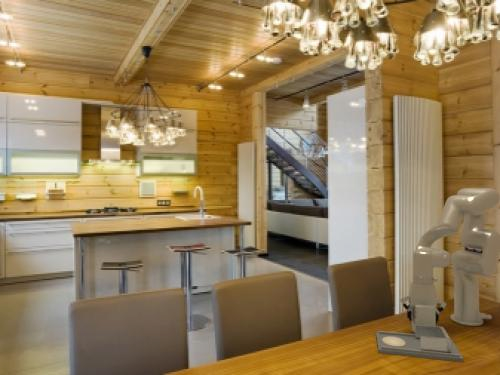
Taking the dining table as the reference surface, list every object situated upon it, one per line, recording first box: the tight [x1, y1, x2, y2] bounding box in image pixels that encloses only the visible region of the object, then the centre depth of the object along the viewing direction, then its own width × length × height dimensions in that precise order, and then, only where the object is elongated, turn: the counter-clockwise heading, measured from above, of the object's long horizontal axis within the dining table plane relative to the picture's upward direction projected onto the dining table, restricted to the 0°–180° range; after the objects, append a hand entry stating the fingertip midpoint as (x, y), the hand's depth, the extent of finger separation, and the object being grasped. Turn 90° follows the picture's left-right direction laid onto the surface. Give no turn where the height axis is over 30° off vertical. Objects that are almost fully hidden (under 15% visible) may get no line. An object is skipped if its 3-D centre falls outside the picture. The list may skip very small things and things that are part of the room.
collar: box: [414, 324, 452, 353], centre depth 136 cm, size 10×12×5 cm
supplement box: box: [411, 305, 437, 334], centre depth 150 cm, size 7×7×13 cm
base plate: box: [375, 330, 464, 363], centre depth 138 cm, size 28×16×2 cm, turn 74°
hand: (422, 321), depth 150 cm, fingers open, 9 cm apart
